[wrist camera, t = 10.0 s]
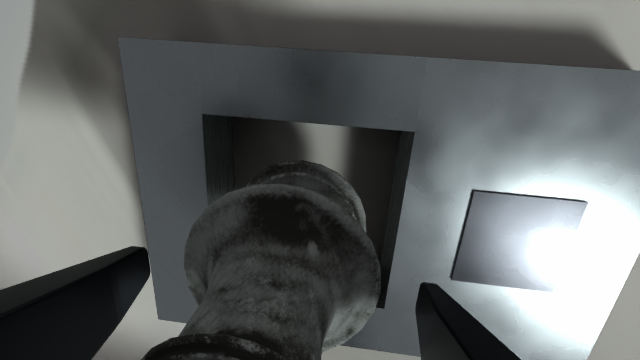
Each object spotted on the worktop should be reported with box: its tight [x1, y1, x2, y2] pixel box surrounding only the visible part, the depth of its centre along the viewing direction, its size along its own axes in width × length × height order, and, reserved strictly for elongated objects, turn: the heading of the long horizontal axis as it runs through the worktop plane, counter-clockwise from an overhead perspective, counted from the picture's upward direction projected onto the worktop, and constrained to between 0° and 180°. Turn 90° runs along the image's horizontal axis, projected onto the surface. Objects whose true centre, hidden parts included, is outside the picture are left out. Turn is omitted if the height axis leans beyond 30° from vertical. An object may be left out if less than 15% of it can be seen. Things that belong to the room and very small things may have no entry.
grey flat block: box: [118, 37, 640, 360], centre depth 14 cm, size 13×20×3 cm, turn 86°
